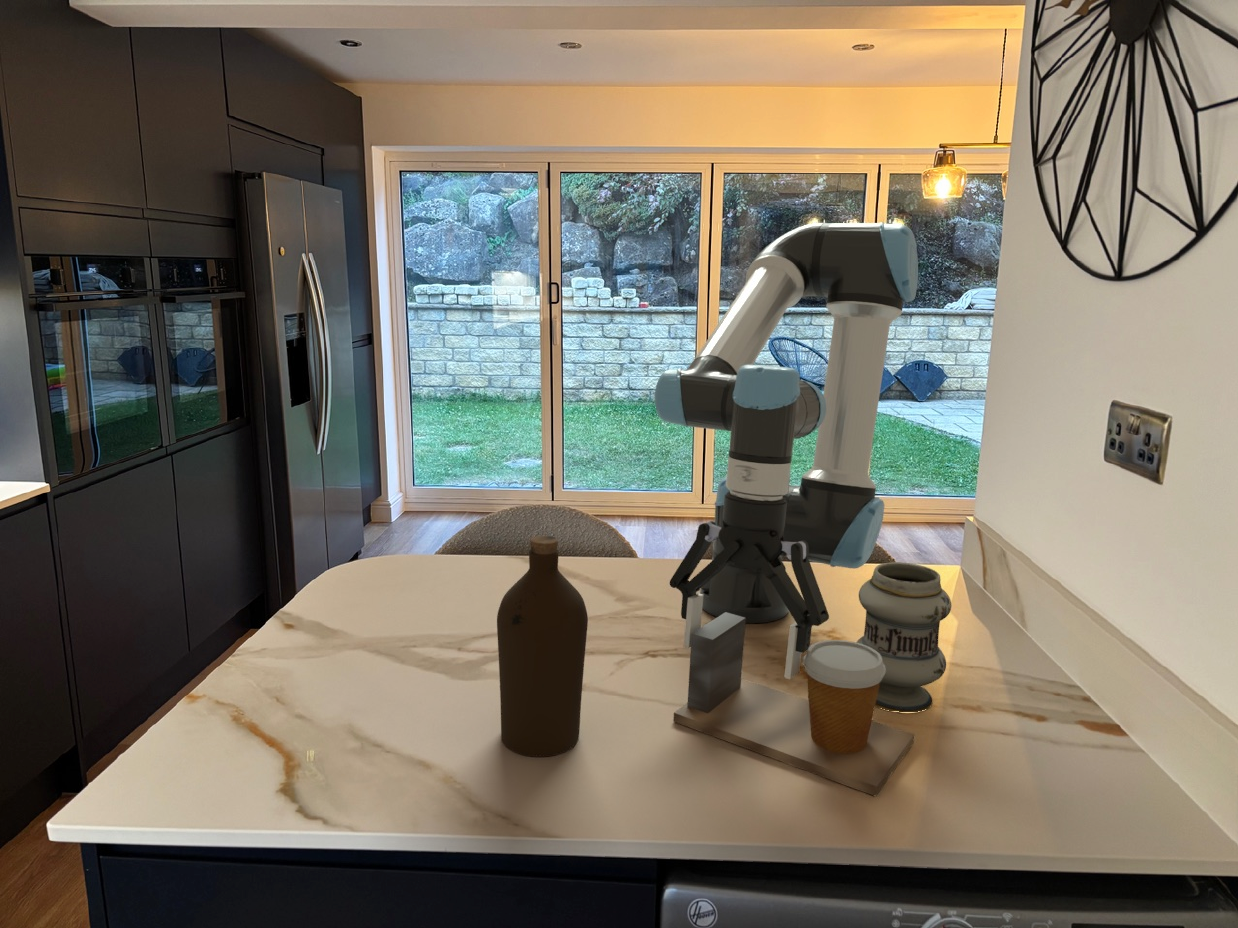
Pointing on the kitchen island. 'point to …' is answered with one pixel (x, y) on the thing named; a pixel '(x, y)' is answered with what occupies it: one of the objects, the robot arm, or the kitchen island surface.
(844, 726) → the disposable coffee cup
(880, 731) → the walnut board
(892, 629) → the apothecary jar
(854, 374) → the robot arm
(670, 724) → the kitchen island surface
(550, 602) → the olive oil
